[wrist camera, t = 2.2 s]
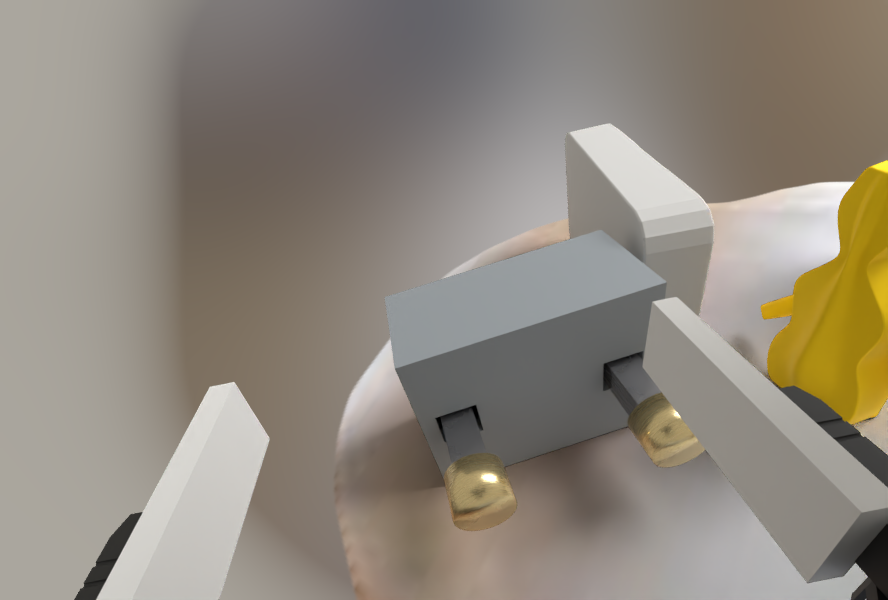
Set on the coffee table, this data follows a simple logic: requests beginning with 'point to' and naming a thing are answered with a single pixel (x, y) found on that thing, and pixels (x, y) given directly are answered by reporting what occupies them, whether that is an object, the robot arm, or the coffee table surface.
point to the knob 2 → (650, 413)
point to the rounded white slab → (639, 209)
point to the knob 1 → (474, 476)
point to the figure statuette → (841, 311)
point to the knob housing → (524, 345)
